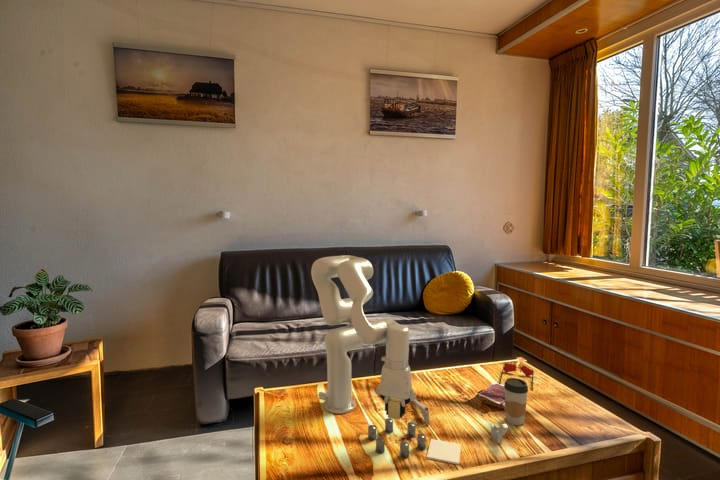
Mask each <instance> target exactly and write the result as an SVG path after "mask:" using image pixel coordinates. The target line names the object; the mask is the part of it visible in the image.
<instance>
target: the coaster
mask: <svg viewBox="0 0 720 480" xmlns="http://www.w3.org/2000/svg"><path fill="white" fill-rule="evenodd" d="M461 451H462V444H461V443H456V442H451V441H446V440H445V441H444V440H438V439H435V438H431V439H430V442H429V446H428V450H427V455H426V459H428V460H433V461H439V462H444V463H449V464H454V465H460V462H461V461H460V460H461V453H462V452H461Z"/></svg>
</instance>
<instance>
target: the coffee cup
mask: <svg viewBox="0 0 720 480" xmlns="http://www.w3.org/2000/svg"><path fill="white" fill-rule="evenodd" d="M503 388H504V409H505V410H504V411H505V420H506V422H507V423H508V424H510V425H513V426H522V425H523V424H524V423H525V419H526V418H525V416H526V408H527V400H528V392H529V386H528V384H527V382H526V381H525V380H523V379H520V378H516V377H509V378H507V379H506V380H505V382H504V386H503Z"/></svg>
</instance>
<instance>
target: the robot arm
mask: <svg viewBox="0 0 720 480" xmlns="http://www.w3.org/2000/svg"><path fill="white" fill-rule="evenodd" d="M310 273H311V279H312V283H313V284H314V287H315V289H316V291H317V295H318V300H319V304H320V308H321V314H322V317H323V321H324V323H325V324H326V325H327V326H335V325H336V326H337V325H342V324H347V325H345V326H341V327H340V326H339V327H337V328H333V329H332V330H331V329H330V330H329V331H328V332H327V333H326V334H325V336H324V345H325V352H326V358H327V359H326V364H327V365H326V366H327V367H326V368H327V369H326V370H327V384H326V385H327V391H326V392H324V391H319V392H318V399H319V400H321V401H322V400H323V408H324V409H325V410H326V412H328V413H332V414H340V415H341V414H342V415H343V414H346V413H350V412H351V411H352V410H354V409H355V407H356V401H355V399H353V398H352V360H351V359H350V357H349V356H348V352H349V351H352V350H356V349H358V348H362V347H363V346H364V345H367V346H373V345H376V344H380V343H383V342H385V356H381V359H380V360H381V362H384V364H383V365H382V367H381V374H380V383H379V385H378V386H377V388H375V389H376V390H375V393H376V394H377V395H378V396H379V397H380V398H381V399H382V401H383V404H384V411H385V412H386V413H385V415H386V416H388V401H389V399H390V397H392V398H398V399H401V406H400V419H402V418H403V415H406V408H407V407H406V406H407V405H408V404H409V403H411V402H412V401H413V400H415V399H416V400H417V397H418V396H417V395H416V393H415V391H414V390H413V388H412V386H413V385H412V371H411V367H410V365H409V352H410V329H409V327H408V326H406V325H404V324H401V323H398V322H396V321H395V320H394V319H393V318H389V317H384V318H381V319H376V320H371V321H368V318H367V317H366V315H365V313H364V310H363V305H365V304H366V303H367V302H368V301H369V300H370V299H371V298H372V297H373V295H374V291H373V288H372V287H371V285H370V284H369V282H368V280H370V279H372V277H373V275H374V267H373V265H372V263H371V262H370V261H369V260H368V259H366V258H364V257H358V256H355V255H349V254H348V255H347V254H345V255H332V256H325V257H321V258H320V257H319V258H318V259H316V260H315V261H313V263H312V265H311V270H310ZM333 278H339V281H341V284H342V285H343V287H344V289H345V291H346V293H347V295H348V298H346V297H345V298H343V299H342V298H341V295H340V293H341V292H340V290H339V287H338V285H337V284H336V283H335V282H334V281H333V280H332V279H333Z"/></svg>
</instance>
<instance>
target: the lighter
mask: <svg viewBox="0 0 720 480" xmlns="http://www.w3.org/2000/svg"><path fill="white" fill-rule="evenodd" d="M508 429H509V426H508V425H507V423H502V424H501V425H500V426H499V425H498V424H497V423H494V424H492V425H490V438H491V439H492V440H493V442H495V443H496V444H497V445H499V444H501V445H502V442H503V436H504V435H506V433H507V431H508Z"/></svg>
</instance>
